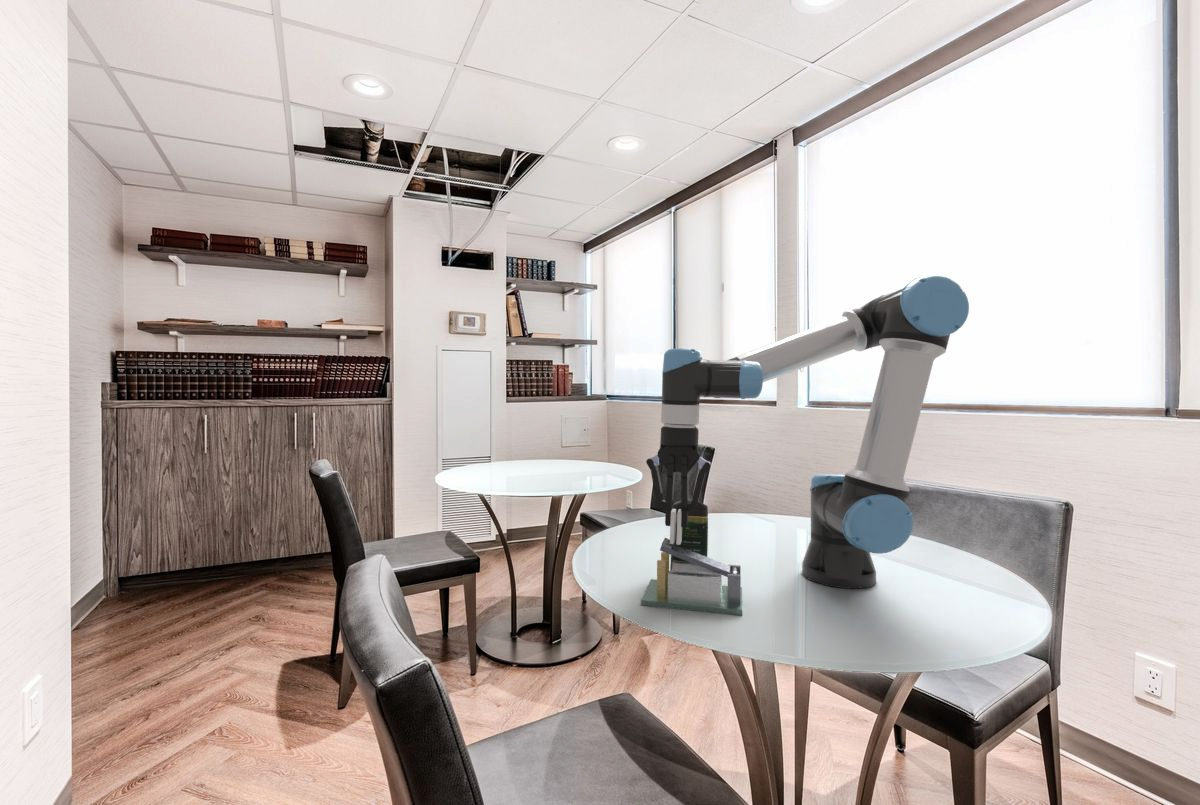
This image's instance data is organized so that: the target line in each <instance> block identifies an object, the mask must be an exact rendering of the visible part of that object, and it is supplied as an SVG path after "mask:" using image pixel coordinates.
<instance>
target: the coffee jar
mask: <svg viewBox="0 0 1200 805" xmlns="http://www.w3.org/2000/svg"><path fill="white" fill-rule="evenodd" d="M691 502H692V498H688V503H691ZM708 508H709V507H708V505H707V504H705V503H702V502H701V501H700V500H699V501H698V505H697V507H696V509H694V510H689V511H688V524H687V526H686V528H684V527H682V542H681V544H680V545H677V544H676V542H677V512H678V510H679V509H681V499H680V500H678V501H676V502H673V507H672V509H676V530H675V542H674V544H675V545H677V546H680V547H682V548H685V549H688V550H690V551H693V552H695V553H698V554H700V555H703V556H705V557H708V549H709V547H708V545H709V542H708V541H709V509H708ZM673 560H675V561H686V560H683V559H680V558H678V557H675V556H673V555H670V563H669V571H671V570H672V562H673Z"/></svg>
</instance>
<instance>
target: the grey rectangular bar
mask: <svg viewBox="0 0 1200 805" xmlns="http://www.w3.org/2000/svg"><path fill="white" fill-rule="evenodd" d="M660 545H661V546H660V549H659V551H661V552H665V553H668V554H669V556H671V555H673V556H675V557H678V558H680V559H683V560H686V561H688V562H691V563H693V564H696V565H698V566H701V567H703V568H706V569H708V570H711V571H713V572H716V573H718V574H721V575H722V577H727V578H728V574H730V566H728V565H729V564H726V563H723V562H721V561H718V560H716V559H713V558H711V557H709V556H707V557H705V556H703V555H700V554H698V553H695V552H693V551H690V550H688V549H685V548H682V547H680V546H677V545H675V544H670V538H667V537H664V539H663V541H662V543H661V544H660Z"/></svg>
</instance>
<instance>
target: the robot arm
mask: <svg viewBox="0 0 1200 805" xmlns="http://www.w3.org/2000/svg"><path fill="white" fill-rule="evenodd" d="M968 298H969V297H968V296H967V294H966V293H965V291H963V289H962V287H961V286H960V284H958V282H956V281H954V279H951V278H949V277H946V276H943V275H937V274H936V275H933V274H931V275H927V276H923V277H916V278H912V279H911V280H910V281H908V282H906V283H903V284H901V285H899V286H895V287H892V288H890V289H887V290H885V291H883V292H881V293H880V294H878V295H876V296H874V297H873V298H870V299H869V300H867V301H865V302H863V303H861V304H859V305H857V306H854V307H852V308H850V309H847V310H845V311H844V312H843V313H842V315H841V316H840V317H839V318H836V319H833V320H831V321H828V322H825V323H822V324H820V325H817V326H814V327H812V328H809V329H807V330H804V331H802V332H798V333H796V334H793V335H790V336H788V337H785V338H783V339H780V340H777V341H775V342H772V343H770V344H767V345H764V346H761V347H759V348H756V349H753V350H751V351H748V352H746V353H742V354H739V355H737V356H735V357H732V358H730V359H726V360H722V359H721V360H717V359H715V360H714V359H713V360H711V359H710V360H709V359H703V356H702V352H701V350H700V349H696V348H670V349H667V350H666V351H665V352H664V355H663V363H662V372H661V374H662V381H661V382H662V383H661V385H662V387H661V407H660V408H661V410H660V411H661V413H660V423H661V424H663V426H661V428H660V441H659V442H660V446H659V449H658V451H657V454H656V455H654V456H652V457H649V458H647V459H646V461H645V462H646V465H647V466H648V468H649V470H650V474H651V480H652V486H653V492H654V496H655V502H656V506H657V507H659V508H663V509H664V510H665V514H664V515H665V517H664V518H665V519H664V525H665V526H666V527H670V529H669V539H670V544H674V542H675V530H676V509H672V507H673V504H674V494H675V492H674V491H675V477H676V473H677V472H678V473H680V478H681V480H680V481H681V482H680V483H681V484H680V485H681V489H680V491H681V492H680V493H681V496H680V500H681V509H679V510H678V512H677V542H676V544H677V545H680V544H681V542H682V527H684V528H686V526H687V524H688V511H689V510H694V509H696V507H697V505H698V501H700V497H701V493H702V488H703V485H704V481H705V476H706V473H707V472H708V471H709V469H710V468H711V465H712V463H711V461H709V460H706V459H705V458H703V457H702V456H701V452H700V451H699V428H698V427H697V426H698V425H699V423H700V398H713V399H722V398H723V399H741V400H746V399H757V398H758V397H759V396H760V395H761V393H762V389H763V384H764V383H765V382H768V381H770V380H773V379H776V378H779V377H781V376H784V375H787V374H790V373H793V372H795V371H798V370H800V369H803V368H805V367H806V368H807V367H809V366H812V365H814V364H817V363H819V362H822V361H825V360H826V361H827V359H830V358H833V357H836V356H838V355H841V354H844V353H847V352H850V351H854V350H855V351H856V352H863V351H865V350H868V349H872V348H876V347H880V346H881V348H882V349H883V351H884V355H883V357H882V358H883V359H882V361H881V366H880V371H879V374H878V378H877V382H876V386H875V390H874V393H873V398H872V402H871V405H870V409H869V413H868V418H867V421H866V425H865V429H864V432H863V437H862V441H861V446H860V449H859V453H858V457H857V461H856V464H855V466H854V468H852V469H851V470H848V471H846V472H845V473H844V474H816V475H813V476H812V478H811V483H810V488H809V492H810V540H809V543H808V546H807V549H806V551H805V555H804V557H803V560H802V564H801V565H802V566H801V568H802V569H801V570H802V571H801V573H802V575H803V576H804V577H805V578H807V579H808V580H810V581H813V582H816V583H818V584H821V585H825V586H830V587H836V588H841V589H842V588H844V589H862V588H863V589H864V588H869V587H872V586H875V584H877V571H876V568H875V564H874V560H873V558H872V555H871V554H877V555H878V554H887V553H891V552H893V551H895V550H897V549H899V548H901V547H902V546H903V545H905V543H906V542H908V539H910V536H911V534H912V532H913V528H914V517H913V514H912V512H911V510H910V508H909V506H908V505H907V504H908V498H909V494H910V492H911V491H910V490H911V489H910V488H909V486H908V485H907V483H906V482H905V480H904V478H905V477H904V476H905V474H906V470H907V465H908V461H909V457H910V453H911V450H912V446H913V444H914V439H915V435H916V431H917V427H918V422H919V420H920V419H919V418H920V415H921V411H922V407H923V404H924V399H925V396H926V392H927V388H928V384H929V379H930V376H931V374H932V373H931V372H932V368H933V364H934V362H935V359H937V358H938V357H940V356H942V355H944V354H946V353H947V352H946V351H947V347H948V344H949V340H950V336H951V334H954V333H955V332H957V331H958V330H959V329H960V328H962V327H963V326H964V324H965V323H966V321H967V319H968V317H969V312H970V305H969V304H970V303H969V299H968ZM660 462H661V464H662V466H664V468H665V470H667V474H666V490H665V491H666V492H665V497H664V492H663V487H662V481H661V476H660V471H659V465H660ZM696 463H698V464H697V465H698V466H697V467H698V469H699V472H698V476H697V478H696V483H695V487H694V491H693V495H692V498H691V499H692V502H691V503H688V499H689V478H690V475H689V474H690V471H691V470H692V469H693V468H694V466H695V465H696Z"/></svg>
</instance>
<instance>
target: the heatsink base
mask: <svg viewBox="0 0 1200 805" xmlns="http://www.w3.org/2000/svg"><path fill="white" fill-rule="evenodd" d="M727 565H728V566H730V574H728V577H727V585H723V575H721V574H718V573H716V572H713V571H711V570H708V569H706V568H703V567H701V566H698V565H696V564H693V563H691V562H688V561H675V560H673V562H672V570H671V571H670V554H668V553H665V552H663V551H661V552H660V559H657V560H656V579H654V578H653V579H652V578H651V579H650V580H649V583H648V585H647V587H646V589H645V591H644V593H643V595H642V597H641V600H640V606H644V605H648V606H647V607H654V606H655V608H666V609H674V610H675V609H676V610H684V611H685V610H686V611H694V612H696V611H697V612H703V613H713V614H721V615H722V614H723V615H734V616H743V587H742V585H741V584H742V583H741V582H742V581H741V579H742V578H741V576H742V575H741V565H740V564H739V565H736V564H727Z"/></svg>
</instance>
